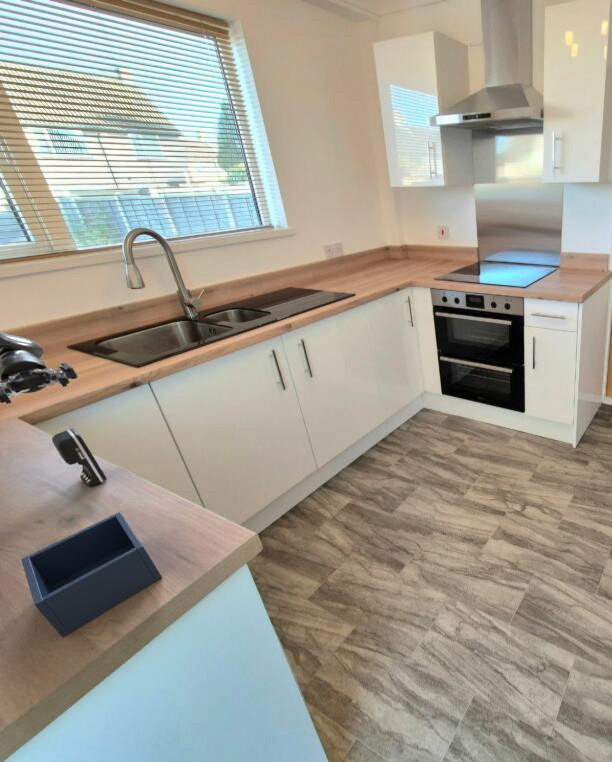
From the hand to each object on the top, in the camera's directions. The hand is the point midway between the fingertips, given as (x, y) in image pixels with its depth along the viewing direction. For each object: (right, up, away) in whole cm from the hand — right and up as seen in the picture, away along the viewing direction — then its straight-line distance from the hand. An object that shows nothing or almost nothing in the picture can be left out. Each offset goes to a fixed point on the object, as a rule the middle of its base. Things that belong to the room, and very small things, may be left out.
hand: (35, 390), depth 89 cm
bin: (+36, -29, -23) cm, 52 cm away
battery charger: (+11, -19, +1) cm, 22 cm away
